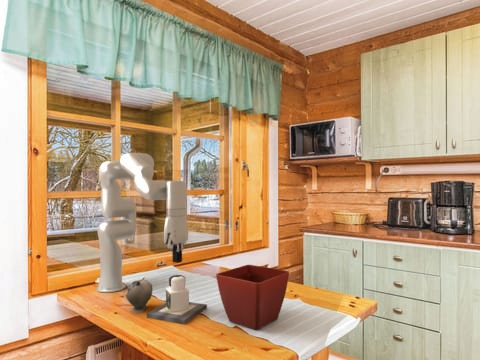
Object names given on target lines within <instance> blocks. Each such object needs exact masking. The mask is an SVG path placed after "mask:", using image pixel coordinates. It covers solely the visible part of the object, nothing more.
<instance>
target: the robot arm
mask: <svg viewBox="0 0 480 360" xmlns="http://www.w3.org/2000/svg"><path fill="white" fill-rule="evenodd" d="M154 161H155V160H154V158H153V157H152V155H150V154H148V153H141V152H127V153H124V154H123V155H122V156H121V157H120V160H108V161H105V162H103V163H102V164H100V166H99V169H98V178H99V184H100V187H101V199H100V201H101V214H102V216H103V217H104V218H107V219H114V220H106V221H103V222H101V223H99V225H98V227H97V236H98V241H99V242H98V243H99V256H100V257H99V258H100V262H99V264H100V265H99V266H100V268H99V269H100V271H99V272H100V273H99V275H100V276H99V277H98V278H97V279H96V280H95V281H94V282H95V284H98V286H97V287H96V291H97V292H99V293H113V292H118V291H121V290H124V289H125V288H126V287H127V286H126V283H125V282H123V251H122V250H123V249H122V247H121V246H120V244H119V242H118V241H121V240H129V239H133V237H134V236H135V235H136V232H137V205H136V201H135V199H133V198H132V197H131V196H130V197H129V196H122V188H121V185H120V184H119V182H118V181H117V180H121V181H122V180H128V181H129V180H130V181H131V180H133V185H134V188H135V191H136V192H137V193H138V195H140V196H141V197H142V198H144V199H145V200H148V201H158V200H159V201H161V200H162V201H163V200H164V201H165V200H166V201H165V202H166V207H165V208H166V211H165V212H166V215H165V216H166V217H165V220H164V228H163V243H164V245H167V249H171V252H172V263H176V264H179V263H182V262H183V251H184V246H185V245H186V244H187V241H188V240H189V239H188V238H189V226H188V219H187V217H188V212H187V211H188V210H187V207H188V206H187V204H188V203H187V183H186V181H184V180H163V179H161V180H160V179H158V180H157V179H156V180H152V179H153V177H154V174H155V170H154V167H155V162H154ZM115 218H122V219H116V220H115Z"/></svg>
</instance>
